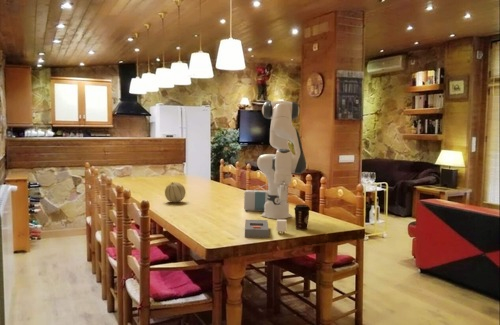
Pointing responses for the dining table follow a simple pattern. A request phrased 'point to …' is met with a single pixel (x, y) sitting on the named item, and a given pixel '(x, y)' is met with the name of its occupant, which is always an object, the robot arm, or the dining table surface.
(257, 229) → the socket block
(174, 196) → the cantaloupe
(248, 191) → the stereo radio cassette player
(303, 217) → the coffee cup
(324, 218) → the dining table surface
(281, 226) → the plug
